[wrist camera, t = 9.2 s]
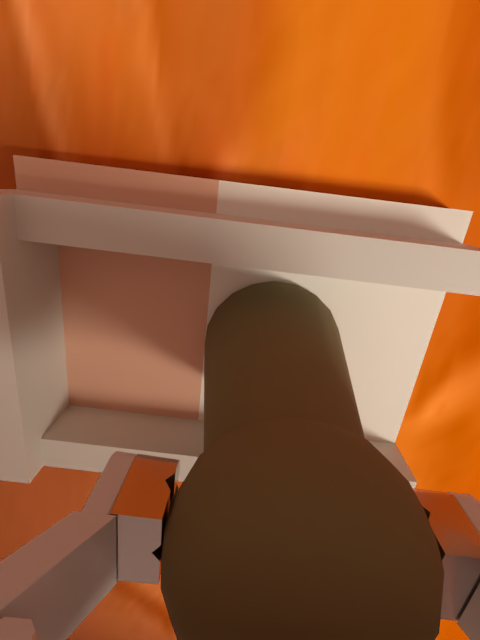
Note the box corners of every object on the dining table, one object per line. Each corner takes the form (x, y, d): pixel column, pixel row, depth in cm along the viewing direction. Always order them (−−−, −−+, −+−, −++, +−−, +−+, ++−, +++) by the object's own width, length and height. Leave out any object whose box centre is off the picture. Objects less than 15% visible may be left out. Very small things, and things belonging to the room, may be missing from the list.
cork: (185, 303, 15) (33, 566, 5) (323, 263, 14) (513, 475, 4) (228, 415, 17) (190, 769, 7) (351, 385, 16) (525, 740, 6)
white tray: (452, 209, 15) (545, 217, 10) (371, 463, 20) (408, 548, 15) (35, 158, 15) (-66, 142, 10) (58, 427, 20) (-2, 501, 15)
